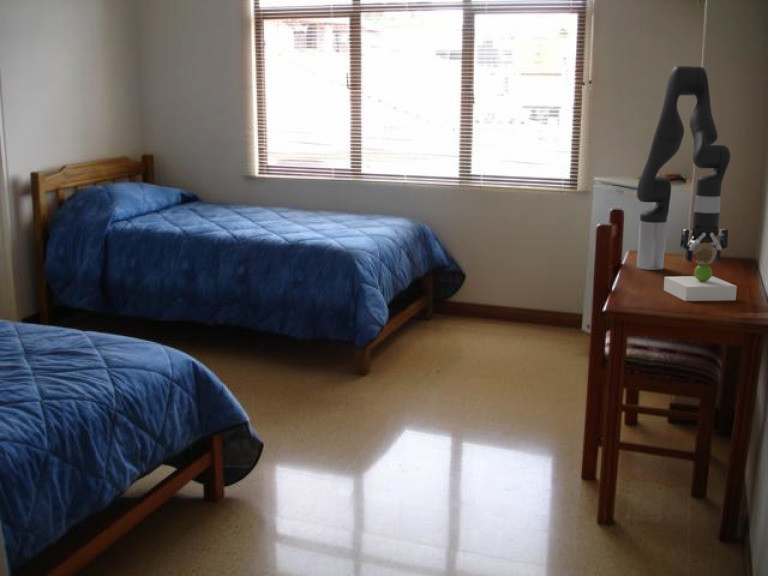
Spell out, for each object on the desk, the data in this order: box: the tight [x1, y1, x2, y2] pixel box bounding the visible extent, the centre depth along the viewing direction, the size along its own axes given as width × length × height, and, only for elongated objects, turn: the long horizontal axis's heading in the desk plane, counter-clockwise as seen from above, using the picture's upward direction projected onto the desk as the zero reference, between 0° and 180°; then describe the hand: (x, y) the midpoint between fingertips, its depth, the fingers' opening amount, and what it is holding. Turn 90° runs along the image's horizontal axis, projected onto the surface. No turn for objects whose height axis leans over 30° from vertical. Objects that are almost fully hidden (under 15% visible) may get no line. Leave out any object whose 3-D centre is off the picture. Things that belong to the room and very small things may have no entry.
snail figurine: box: [693, 244, 718, 281], centre depth 256 cm, size 5×6×12 cm
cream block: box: [663, 275, 738, 302], centre depth 258 cm, size 16×16×5 cm
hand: (702, 261), depth 256 cm, fingers open, 8 cm apart
